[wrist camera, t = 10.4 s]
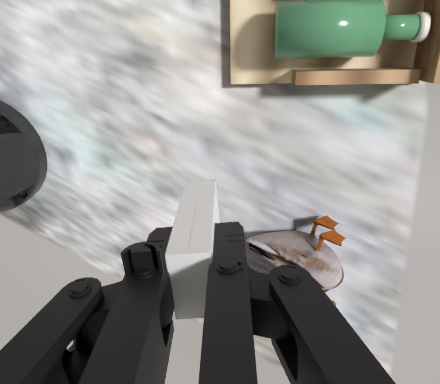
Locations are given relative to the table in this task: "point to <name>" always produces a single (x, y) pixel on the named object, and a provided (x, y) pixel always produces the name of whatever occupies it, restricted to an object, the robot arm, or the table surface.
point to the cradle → (330, 67)
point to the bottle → (340, 28)
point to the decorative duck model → (304, 252)
